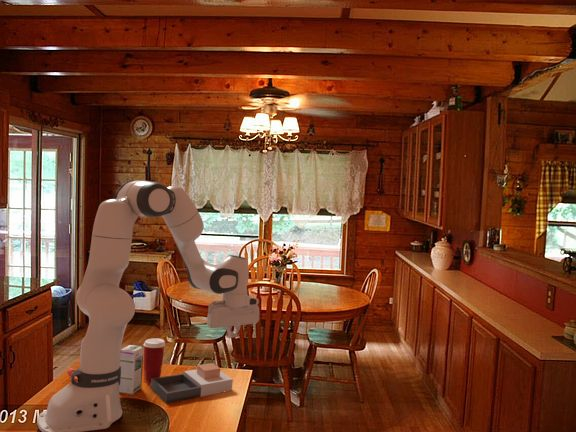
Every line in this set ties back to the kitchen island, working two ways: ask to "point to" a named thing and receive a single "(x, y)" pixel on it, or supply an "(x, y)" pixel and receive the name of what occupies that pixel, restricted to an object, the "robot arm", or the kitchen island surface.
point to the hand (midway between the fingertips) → (232, 337)
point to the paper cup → (153, 358)
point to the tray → (175, 388)
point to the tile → (208, 371)
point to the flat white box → (211, 383)
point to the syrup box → (131, 369)
